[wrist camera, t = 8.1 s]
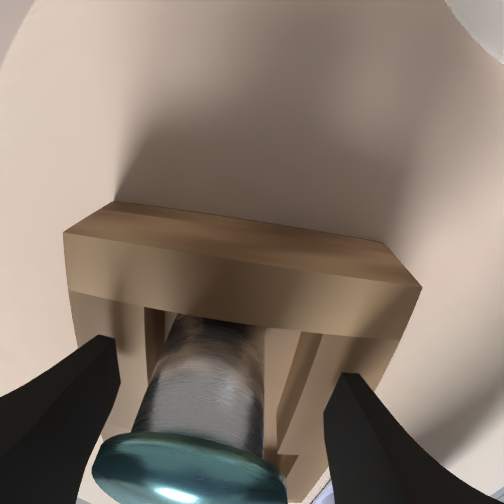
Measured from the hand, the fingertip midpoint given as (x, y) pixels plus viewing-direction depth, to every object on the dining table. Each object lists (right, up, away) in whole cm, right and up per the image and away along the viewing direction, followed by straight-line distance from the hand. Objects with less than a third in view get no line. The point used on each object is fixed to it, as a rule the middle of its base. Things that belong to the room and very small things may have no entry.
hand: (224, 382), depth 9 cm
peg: (0, +1, +3) cm, 3 cm away
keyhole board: (0, -2, +6) cm, 6 cm away
